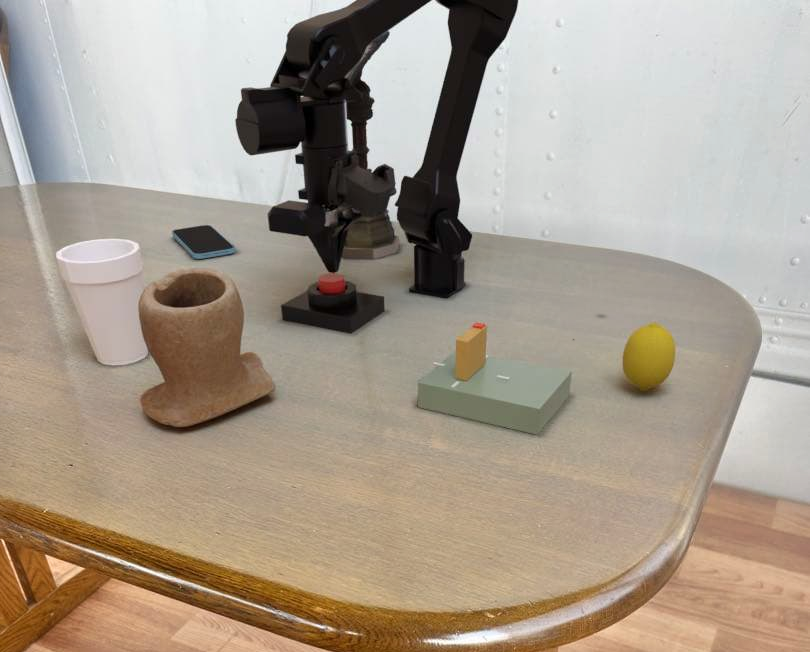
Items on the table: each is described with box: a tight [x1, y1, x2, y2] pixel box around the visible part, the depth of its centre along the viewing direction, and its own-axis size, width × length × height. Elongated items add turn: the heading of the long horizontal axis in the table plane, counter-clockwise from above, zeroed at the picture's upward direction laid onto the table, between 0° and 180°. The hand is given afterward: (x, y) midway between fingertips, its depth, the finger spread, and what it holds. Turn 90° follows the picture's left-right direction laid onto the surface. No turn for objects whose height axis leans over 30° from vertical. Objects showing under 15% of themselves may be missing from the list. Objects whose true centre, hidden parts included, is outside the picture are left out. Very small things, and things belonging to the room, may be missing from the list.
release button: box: [317, 272, 346, 293], centre depth 109 cm, size 4×4×2 cm
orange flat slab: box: [455, 321, 488, 381], centre depth 88 cm, size 5×1×5 cm, turn 151°
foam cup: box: [55, 238, 149, 366], centre depth 98 cm, size 10×9×13 cm
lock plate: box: [417, 350, 573, 436], centre depth 90 cm, size 15×10×3 cm
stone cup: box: [138, 267, 276, 428], centre depth 86 cm, size 15×12×15 cm
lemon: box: [621, 321, 676, 392], centre depth 90 cm, size 6×6×8 cm
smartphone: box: [171, 224, 236, 260], centre depth 139 cm, size 7×1×15 cm
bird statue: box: [299, 30, 400, 260], centre depth 124 cm, size 17×13×35 cm
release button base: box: [280, 280, 385, 335], centre depth 111 cm, size 11×9×4 cm
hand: (333, 272), depth 108 cm, fingers closed
